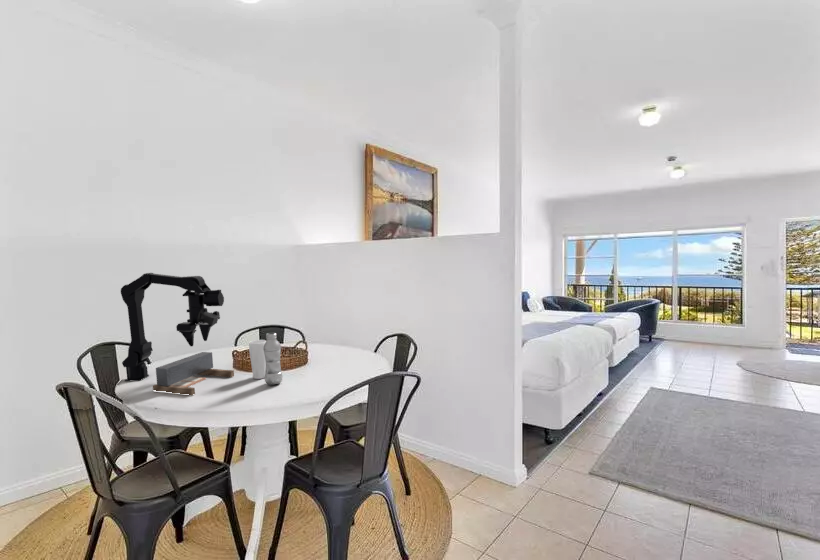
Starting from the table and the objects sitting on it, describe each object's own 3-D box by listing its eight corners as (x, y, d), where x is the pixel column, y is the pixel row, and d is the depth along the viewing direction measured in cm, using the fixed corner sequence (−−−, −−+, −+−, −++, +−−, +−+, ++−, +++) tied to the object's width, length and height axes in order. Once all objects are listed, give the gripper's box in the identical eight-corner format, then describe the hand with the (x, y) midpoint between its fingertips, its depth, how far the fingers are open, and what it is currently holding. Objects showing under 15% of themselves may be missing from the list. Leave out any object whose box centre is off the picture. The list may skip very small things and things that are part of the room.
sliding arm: (157, 384, 156) (155, 368, 155) (203, 366, 178) (202, 351, 177) (167, 385, 154) (166, 368, 154) (213, 367, 176) (212, 352, 176)
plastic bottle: (267, 381, 165) (264, 332, 163) (284, 380, 166) (281, 331, 164) (262, 387, 159) (259, 335, 157) (281, 386, 159) (278, 335, 158)
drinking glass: (271, 374, 174) (269, 339, 172) (264, 380, 167) (261, 343, 166) (255, 374, 174) (253, 339, 173) (248, 380, 168) (245, 343, 166)
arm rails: (153, 392, 157) (152, 385, 157) (198, 373, 178) (198, 367, 178) (191, 395, 152) (191, 389, 152) (234, 376, 173) (233, 370, 173)
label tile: (168, 387, 162) (167, 385, 162) (190, 377, 173) (190, 376, 173) (184, 388, 160) (184, 386, 160) (206, 379, 170) (205, 377, 170)
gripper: (200, 310, 162) (203, 349, 163) (227, 303, 180) (229, 338, 182) (174, 310, 163) (176, 349, 165) (203, 303, 182) (205, 338, 183)
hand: (198, 343), depth 173 cm, fingers open, 9 cm apart
